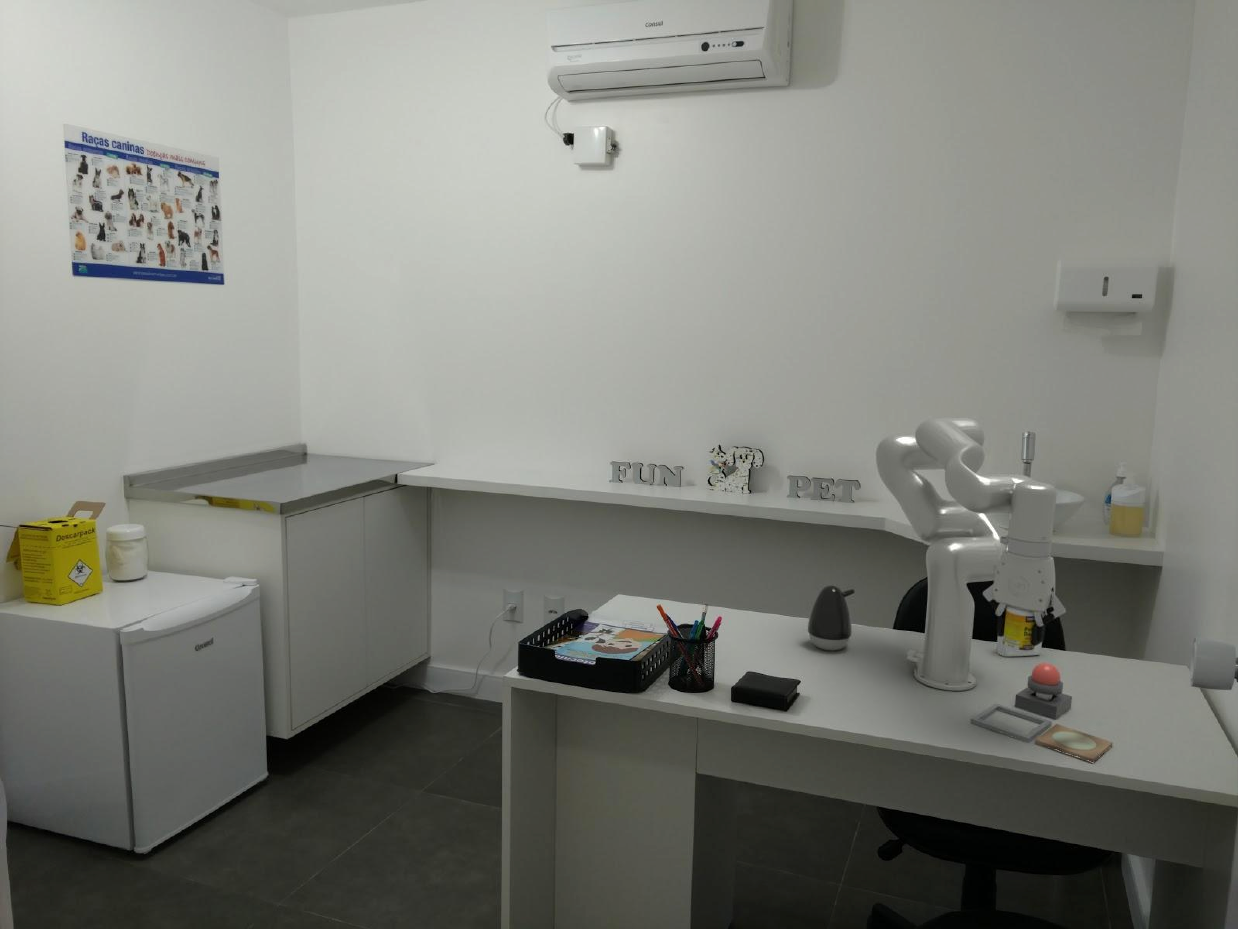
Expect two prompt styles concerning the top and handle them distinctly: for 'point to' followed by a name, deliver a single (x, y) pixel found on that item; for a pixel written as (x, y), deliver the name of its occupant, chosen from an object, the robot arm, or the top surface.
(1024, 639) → the supplement bottle
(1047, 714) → the dome housing
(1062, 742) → the pad
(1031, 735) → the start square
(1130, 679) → the top surface
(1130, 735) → the top surface
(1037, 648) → the photo printer
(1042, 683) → the dome cap
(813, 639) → the pump dispenser
